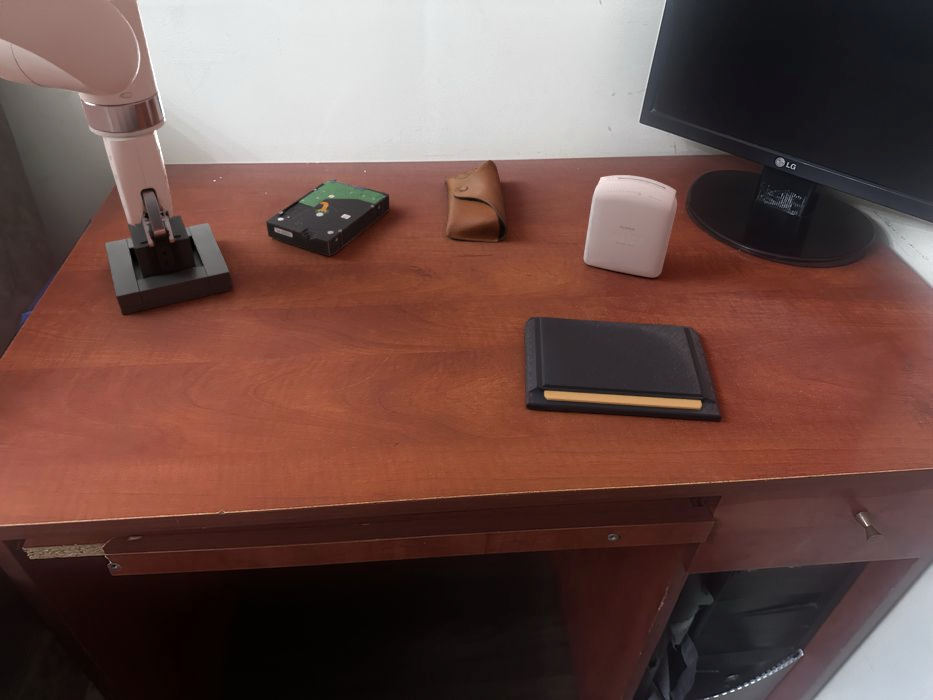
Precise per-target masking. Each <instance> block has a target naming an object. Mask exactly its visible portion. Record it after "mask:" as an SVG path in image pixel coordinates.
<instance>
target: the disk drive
mask: <svg viewBox="0 0 933 700" xmlns="http://www.w3.org/2000/svg"><path fill="white" fill-rule="evenodd" d="M389 210H390V194H388V193H386V192H381V191H380V190H376V189H375V190H374V189H371V188H367V187H365V186H362V185H358V186H356V185H353V184H350V183H345V182H342V181H337V179H336V178H332V179H331V180H326V181H325V182H324V183H323V182H322V183H321V184H319V185H317V186H316V187H315V188H313V189H311V190H310V191H309V192H307V193H306V194H304V195H302V196H301V197H300V198H298V199H297V200H295V201H294V202H292V203H291V204H289V205H288V206H286V207H285V208H282V209H281V210H280V211H279V212H277V213H275V214H273V215H272V216H271V217H269V219H267V220H266V221H265V225H266V230H267V235H268V237H269V238H270V237H271V238H272V239H276V240H277V241H279V242H283V243H286V244H290V245H291V246H295V247H298V248H302V249H304V250H307V251H310V252H314V253H317V254H320V255H324V256H328V257H332V255H335V254H336V253H337V252H339V251H340V250H341V249H342V248H343V247H345V246H347V245H348V244H349V243H350V242H351V241H353V240H354V239H355V238H356V237H357V236H359V235H360V234H361V233H362V232H364V231H365V230H367V228H369V227H370V226H371V225H372V224H374V223H375V222H376V221H378V220H379V219H381V217H382V216H384V215H385V214H387V212H388V211H389Z"/></svg>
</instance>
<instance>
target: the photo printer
mask: <svg viewBox="0 0 933 700" xmlns="http://www.w3.org/2000/svg"><path fill="white" fill-rule="evenodd" d="M676 195H677V190H676V189H675V188H673V187H671V186H670V185H668V184H665V183H664V182H660V181H657V180H655V179H652V178H647V177H643V176H637V175H629V174H627V175H626V174H615V175H606V176H602V177H600V178H599V181H598V183H597V185H596V186H595V189H594V192H593V195H592V200H591V206H590V212H589V218H588V225H587V230H586V231H587V232H586V238H585V244H584V250H583V251H584V252H583V261H584V263H585V264H586V265H589V266H591V267H596V268H600V269H604V270H610V271H614V272H619V273H624V274H628V275H634V276H637V277H638V276H639V277H645V278H653V279H654V278H657V277H659V276H660V275H661V274H662V272H663V267H664V263H665V259H666V255H667V251H668V246H669V242H670V238H671V235H672V229H673V225H674V221H675V218H676V212H677V208H678V200H677V197H676Z"/></svg>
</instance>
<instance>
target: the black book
mask: <svg viewBox="0 0 933 700" xmlns="http://www.w3.org/2000/svg"><path fill="white" fill-rule="evenodd" d="M523 336H524V337H523V338H524V357H525V409H528V410H537V411H538V410H539V411H549V412H551V411H552V412H576V413H591V414H605V415H606V414H607V415H620V416H621V415H622V416H635V417H653V418H665V419H666V418H668V419H681V420H683V419H684V420H697V421H710V422H711V421H713V422H721V420H722V418H723V416H722V413H721V409H720V407H719V401H718V396H717V391H716V389H715V385H714V381H713V377H712V375H711V374H712V373H711V370H710V367H709V364H708V363H709V362H708V360H707V357H706V353H705V349H704V346H703V343H702V340H701V337H700V334H699V332H698V331H697V330H696V329H694V327H692V326H685V325H676V324H675V325H674V324H658V323H657V324H656V323H642V322H641V323H639V322H623V321H622V322H621V321H609V320H608V321H607V320H590V319H579V318H578V319H577V318H565V317H564V318H562V317H554V316H553V317H552V316H551V317H550V316H531V317H530V318H528V319H527V320H526V321H525V323H524V335H523Z"/></svg>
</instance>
